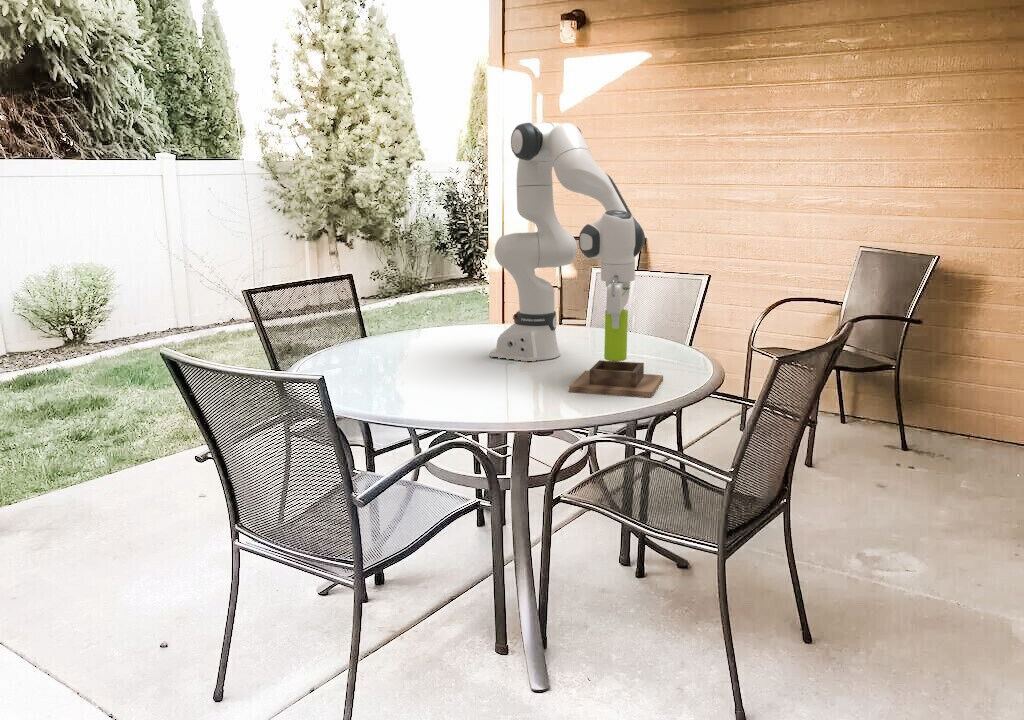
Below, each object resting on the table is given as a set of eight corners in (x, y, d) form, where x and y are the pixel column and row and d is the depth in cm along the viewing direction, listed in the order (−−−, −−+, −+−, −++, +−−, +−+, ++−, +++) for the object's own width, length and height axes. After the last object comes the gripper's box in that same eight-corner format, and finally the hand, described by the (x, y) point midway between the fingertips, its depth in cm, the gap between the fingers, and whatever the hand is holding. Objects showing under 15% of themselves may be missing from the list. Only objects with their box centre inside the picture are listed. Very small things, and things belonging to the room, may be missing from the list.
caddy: (568, 391, 206) (568, 371, 205) (585, 375, 223) (585, 356, 222) (652, 397, 199) (652, 376, 198) (662, 380, 216) (663, 361, 214)
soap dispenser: (617, 363, 205) (619, 287, 200) (599, 358, 210) (601, 284, 206) (633, 359, 208) (635, 285, 203) (615, 355, 214) (617, 282, 209)
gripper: (626, 279, 194) (625, 333, 197) (633, 269, 213) (632, 319, 216) (600, 278, 195) (600, 332, 198) (610, 269, 214) (610, 318, 218)
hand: (617, 325), depth 207 cm, fingers closed on soap dispenser, 6 cm apart
